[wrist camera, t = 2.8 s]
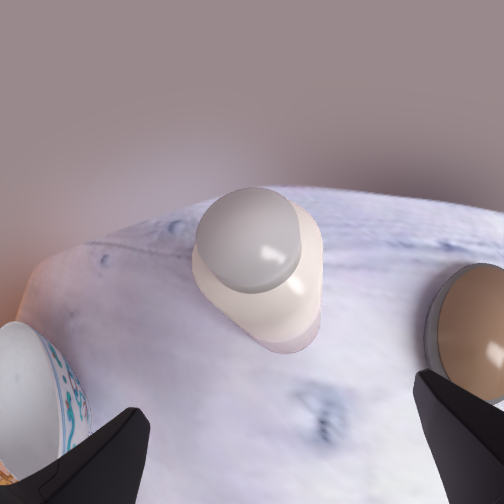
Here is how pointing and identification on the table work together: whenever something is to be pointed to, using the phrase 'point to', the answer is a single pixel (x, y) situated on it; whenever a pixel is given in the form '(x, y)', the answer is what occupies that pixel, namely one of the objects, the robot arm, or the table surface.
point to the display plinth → (469, 331)
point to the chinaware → (37, 402)
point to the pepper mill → (262, 267)
